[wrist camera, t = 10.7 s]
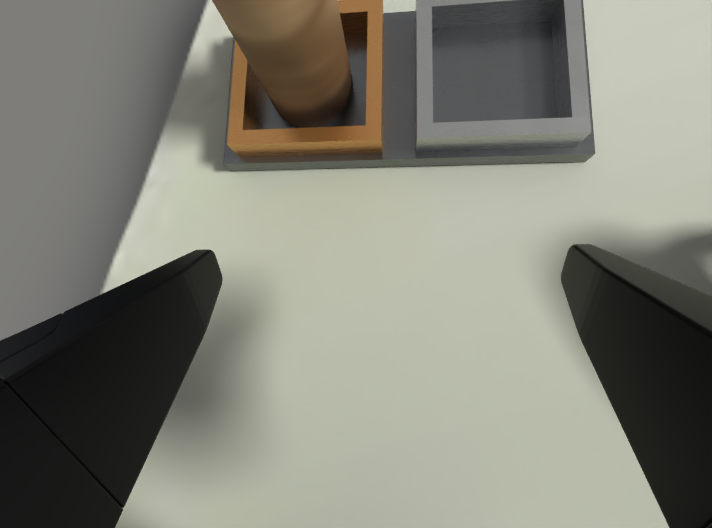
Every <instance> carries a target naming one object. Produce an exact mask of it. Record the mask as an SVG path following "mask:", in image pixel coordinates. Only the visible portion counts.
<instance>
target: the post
mask: <svg viewBox="0 0 712 528" xmlns="http://www.w3.org/2000/svg"><path fill="white" fill-rule="evenodd" d="M212 1H213V3H214V4H215V6H216V8H217V9H218V11H219V13H220V15H221V16H222V18H223V20H224V21H225V23H226V25H227V27H228V28H229V30H230V32H231V33H232V35H233V37H234V39H235V40H236V42H237V44H238V45H239V47H240V49H241V51H242V52H243V54H244V56H245V57H246V59H247V61H248V63H249V64H250V66H251V68H252V69H253V71H254V73H255V75H256V76H257V78H258V80H259V81H260V83H261V85H262V87H263V88H264V90H265V92H266V93H267V95H268V97H269V99H270V100H271V102H272V104H273V105H274V107H275V109H276V111H277V112H278V113H279V115H280V116H281V117H282V118H283V119H285V120H286V121H287V122H289V123H291V124H294V125H296V126H301V127H316V126H320V125H323V124H326V123H328V122H330V121H332V120H333V119H335V118H336V117H337V116H339V115H340V114H341V113H342V112H343V110H344V109H345V108H346V106H347V105H348V103H349V101H350V99H351V95H352V91H353V80H352V74H351V69H350V64H349V59H348V53H347V48H346V43H345V38H344V33H343V28H342V22H341V17H340V12H339V7H338V2H337V0H212Z"/></svg>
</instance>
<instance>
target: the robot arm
mask: <svg viewBox="0 0 712 528" xmlns="http://www.w3.org/2000/svg"><path fill="white" fill-rule="evenodd" d="M561 282H562V285H563V288H564V291H565V295H566V298H567V301H568V304H569V307H570V310H571V313H572V316H573V319H574V322H575V325H576V328H577V331H578V334H579V336H580V338H581V341H582V343H583V345H584V347H585V349H586V352H587V354H588V356H589V358H590V360H591V362H592V364H593V366H594V369H595V371H596V373H597V375H598V377H599V379H600V381H601V383H602V386H603V388H604V390H605V392H606V394H607V396H608V398H609V400H610V402H611V405H612V407H613V409H614V411H615V413H616V415H617V417H618V419H619V422H620V424H621V426H622V428H623V430H624V432H625V434H626V436H627V439H628V441H629V443H630V445H631V447H632V449H633V451H634V453H635V456H636V458H637V460H638V462H639V464H640V466H641V468H642V470H643V472H644V475H645V477H646V479H647V481H648V483H649V485H650V487H651V489H652V492H653V494H654V496H655V498H656V500H657V502H658V504H659V506H660V509H661V511H662V513H663V515H664V517H665V519H666V521H667V523H668V526H669V528H712V296H710V295H707V294H705V293H703V292H700V291H698V290H696V289H693V288H691V287H689V286H686V285H684V284H682V283H679V282H677V281H675V280H672V279H670V278H668V277H666V276H663V275H661V274H659V273H656V272H654V271H652V270H649V269H647V268H645V267H642V266H640V265H638V264H635V263H633V262H631V261H628V260H626V259H624V258H621V257H619V256H617V255H614V254H612V253H610V252H607V251H605V250H603V249H600V248H598V247H596V246H593V245H590V244H576V245H572V246H571V247H570V248H569V250H568V253H567V256H566V260H565V263H564V266H563V270H562V273H561ZM221 285H222V274H221V271H220V268H219V265H218V262H217V259H216V256H215V254H214V252H213V251H211V250H195V251H193V252H191V253H189V254H186V255H184V256H182V257H180V258H178V259H176V260H174V261H172V262H169V263H167V264H165V265H163V266H161V267H159V268H157V269H154V270H152V271H150V272H148V273H146V274H144V275H142V276H140V277H137V278H135V279H133V280H131V281H129V282H127V283H125V284H122V285H120V286H118V287H116V288H114V289H112V290H110V291H108V292H105V293H103V294H101V295H99V296H97V297H95V298H93V299H91V300H88V301H86V302H84V303H82V304H80V305H78V306H76V307H74V308H71V309H69V310H67V311H65V312H64V313H63V314H59V315H56V316H54V317H52V318H50V319H48V320H46V321H44V322H41V323H39V324H37V325H35V326H32V327H30V328H28V329H27V330H24V331H22V332H20V333H17V334H15V335H13V336H10V337H8V338H6V339H3V340H1V341H0V528H115V526H116V524H117V522H118V520H119V517H120V515H121V513H122V511H123V507H124V506H125V504H126V502H127V500H128V498H129V495H130V493H131V491H132V489H133V487H134V485H135V483H136V480H137V478H138V476H139V474H140V472H141V470H142V467H143V465H144V463H145V461H146V459H147V457H148V455H149V452H150V450H151V448H152V446H153V444H154V442H155V440H156V437H157V435H158V433H159V431H160V429H161V427H162V425H163V422H164V420H165V418H166V416H167V414H168V412H169V409H170V407H171V405H172V403H173V401H174V399H175V397H176V394H177V392H178V390H179V388H180V386H181V384H182V382H183V379H184V377H185V375H186V373H187V371H188V369H189V367H190V364H191V362H192V360H193V358H194V356H195V354H196V351H197V349H198V347H199V345H200V343H201V341H202V339H203V336H204V334H205V332H206V329H207V327H208V324H209V321H210V318H211V315H212V312H213V309H214V306H215V303H216V300H217V297H218V294H219V291H220V288H221Z"/></svg>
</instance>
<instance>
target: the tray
mask: <svg viewBox="0 0 712 528" xmlns="http://www.w3.org/2000/svg"><path fill="white" fill-rule="evenodd" d="M337 2H338V7H339V12H340V17H341V22H342V28H343V33H344V38H345V43H346V48H347V53H348V59H349V64H350V69H351V74H352V80H353V91H352V95H351V99H350V101H349V103H348V105H347V106H346V108H345V109H344V110H343V112H342V113H341V114H340V115H339V116H337V117H336V118H335V119H333V120H332V121H330V122H328V123H326V124H323V125H320V126H316V127H301V126H296V125H294V124H291V123H289V122H287V121H286V120H285V119H283V118H282V117H281V116H280V115H279V113H278V112H277V111H276V109H275V107H274V105H273V104H272V102H271V100H270V99H269V97H268V95H267V93H266V92H265V90H264V88H263V87H262V85H261V83H260V81H259V80H258V78H257V76H256V75H255V73H254V71H253V69H252V68H251V66H250V64H249V63H248V61H247V59H246V57H245V56H244V54H243V52H242V51H241V49H240V47H239V45H238V44H237V42H236V40H235V39H234V37H233V50H232V63H231V76H230V89H229V101H228V114H227V127H226V140H225V153H224V165H225V166H226V167H227V168H229V169H230V170H231V171H254V170H293V169H331V168H370V167H408V166H447V165H485V164H524V163H562V162H586V161H587V160H588V159H589V158H591V157H592V156H593V155H594V154H595V145H594V133H593V120H592V108H591V95H590V83H589V70H588V58H587V46H586V33H585V21H584V8H583V0H416V10H415V11H409V12H396V13H383V0H339V1H337Z"/></svg>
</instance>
